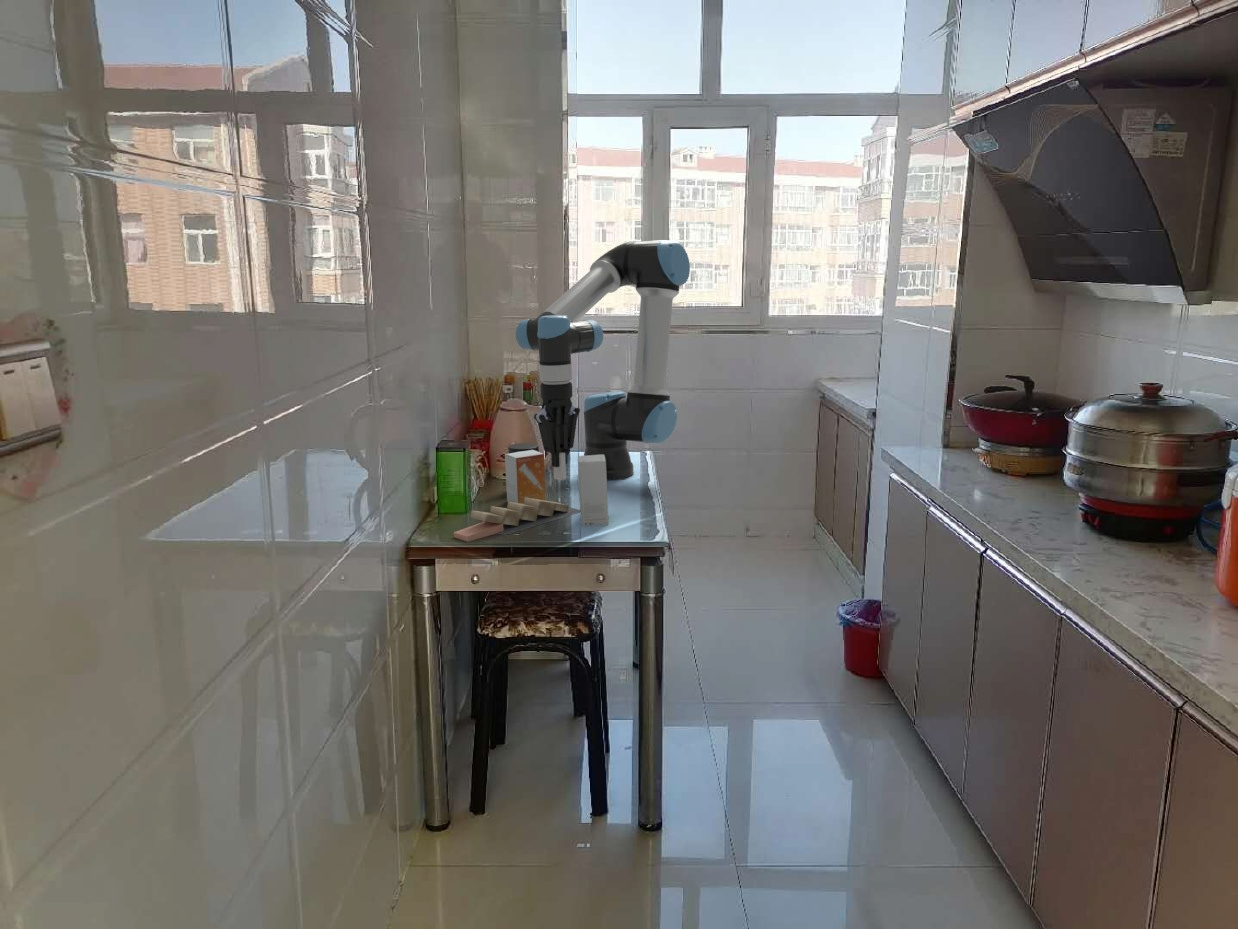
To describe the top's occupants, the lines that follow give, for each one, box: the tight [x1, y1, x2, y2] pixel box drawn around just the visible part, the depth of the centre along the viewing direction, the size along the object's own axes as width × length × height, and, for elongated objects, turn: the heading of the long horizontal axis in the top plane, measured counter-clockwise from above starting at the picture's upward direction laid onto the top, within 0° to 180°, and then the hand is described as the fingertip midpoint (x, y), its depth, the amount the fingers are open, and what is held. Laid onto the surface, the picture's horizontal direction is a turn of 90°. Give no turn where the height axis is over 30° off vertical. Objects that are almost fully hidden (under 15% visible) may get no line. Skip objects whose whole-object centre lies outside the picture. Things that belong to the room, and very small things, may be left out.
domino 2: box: [470, 510, 519, 526], centre depth 211 cm, size 2×5×10 cm
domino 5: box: [524, 497, 570, 512], centre depth 222 cm, size 2×5×10 cm
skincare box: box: [577, 454, 610, 527], centre depth 215 cm, size 8×7×16 cm
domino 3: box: [489, 505, 537, 521], centre depth 215 cm, size 2×5×10 cm
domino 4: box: [506, 502, 553, 517], centre depth 219 cm, size 2×5×10 cm
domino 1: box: [453, 521, 504, 542], centre depth 208 cm, size 2×5×10 cm
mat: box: [497, 506, 581, 536], centre depth 219 cm, size 25×10×1 cm, turn 136°
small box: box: [504, 450, 547, 504], centre depth 233 cm, size 8×6×13 cm
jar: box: [507, 442, 540, 454], centre depth 247 cm, size 9×8×12 cm
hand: (560, 478), depth 224 cm, fingers closed
